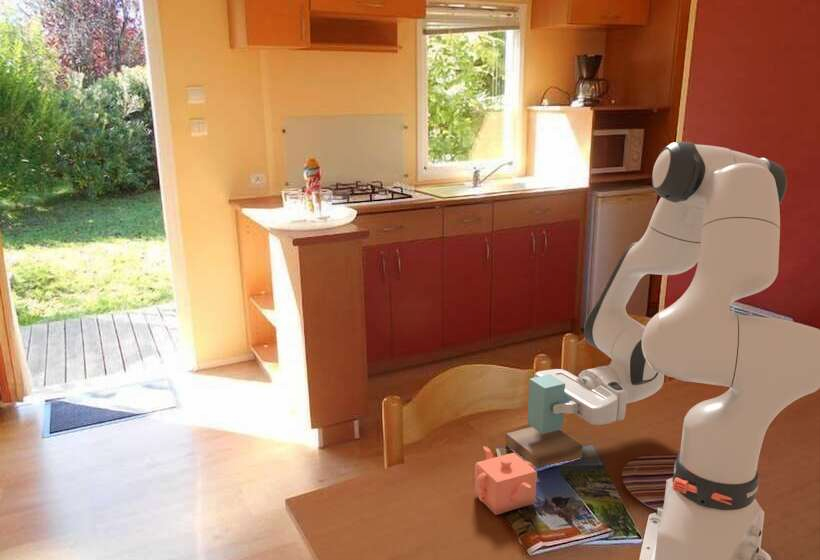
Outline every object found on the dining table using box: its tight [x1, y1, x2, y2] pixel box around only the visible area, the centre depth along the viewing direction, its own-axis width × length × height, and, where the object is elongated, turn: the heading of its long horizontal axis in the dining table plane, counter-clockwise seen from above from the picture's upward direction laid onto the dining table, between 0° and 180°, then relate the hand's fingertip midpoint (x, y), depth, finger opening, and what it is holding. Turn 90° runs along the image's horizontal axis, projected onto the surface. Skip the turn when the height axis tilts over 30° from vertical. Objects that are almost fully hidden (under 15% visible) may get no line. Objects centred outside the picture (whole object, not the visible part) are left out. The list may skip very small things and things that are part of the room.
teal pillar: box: [527, 374, 565, 434], centre depth 130 cm, size 5×5×10 cm
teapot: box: [474, 446, 538, 516], centre depth 116 cm, size 12×15×8 cm
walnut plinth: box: [505, 426, 584, 469], centre depth 133 cm, size 11×11×3 cm
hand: (542, 402), depth 130 cm, fingers closed on teal pillar, 5 cm apart
